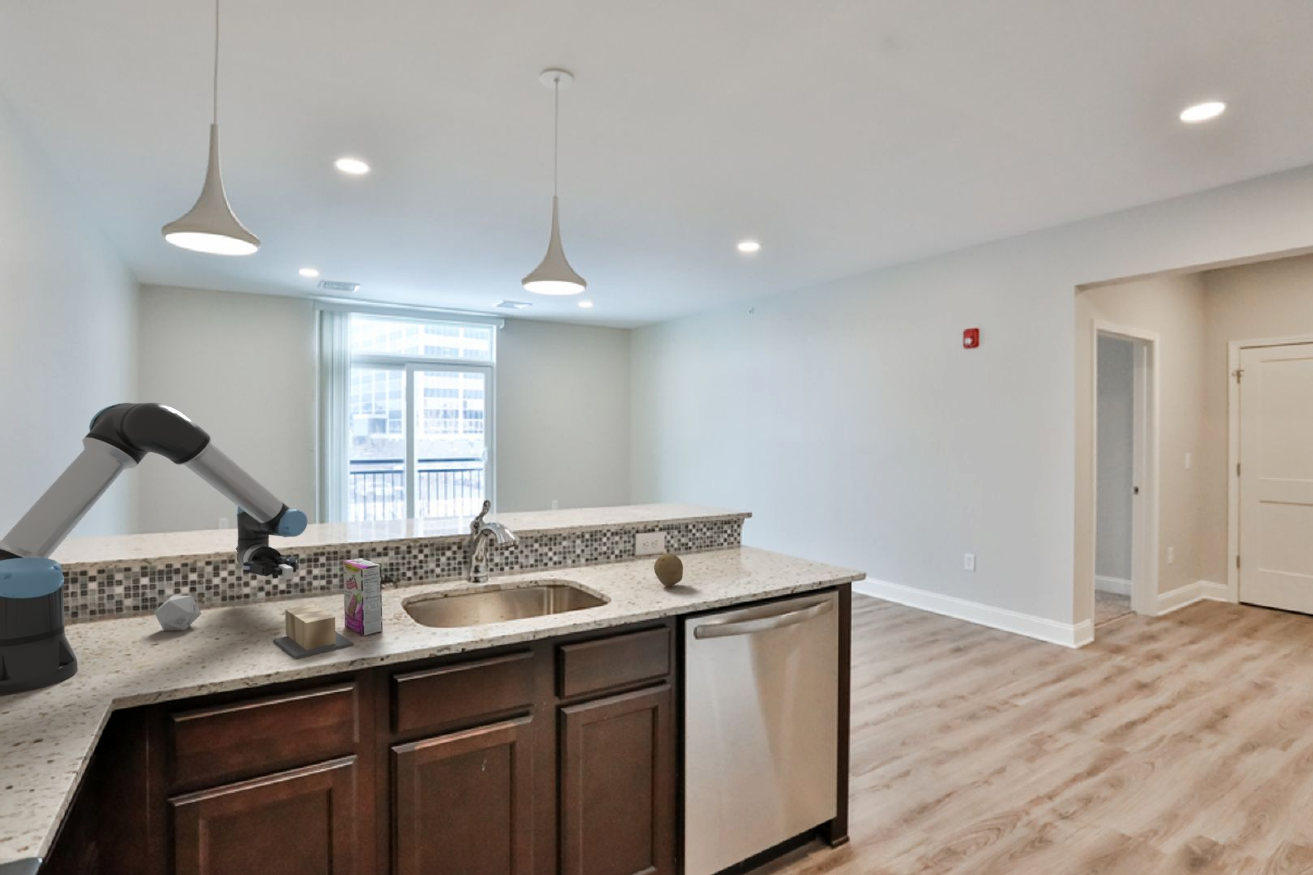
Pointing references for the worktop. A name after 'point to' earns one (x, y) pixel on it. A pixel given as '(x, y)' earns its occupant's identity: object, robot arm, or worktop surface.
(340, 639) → the mat
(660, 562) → the brown oval lump
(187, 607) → the die
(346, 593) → the candy bar box
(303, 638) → the wooden block
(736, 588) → the worktop surface
